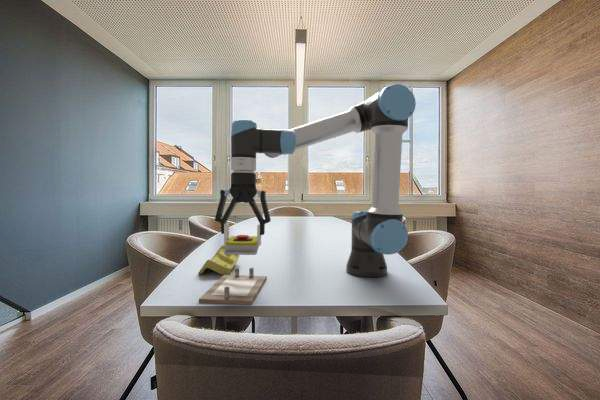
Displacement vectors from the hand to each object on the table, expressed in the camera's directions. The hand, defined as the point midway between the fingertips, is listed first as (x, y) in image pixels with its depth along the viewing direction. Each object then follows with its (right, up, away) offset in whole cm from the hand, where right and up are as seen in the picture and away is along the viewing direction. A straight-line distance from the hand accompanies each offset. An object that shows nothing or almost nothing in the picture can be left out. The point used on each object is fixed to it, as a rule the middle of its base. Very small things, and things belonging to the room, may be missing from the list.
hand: (242, 244), depth 98 cm
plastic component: (-12, -13, +25) cm, 31 cm away
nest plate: (-2, -14, +1) cm, 14 cm away
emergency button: (0, -2, 0) cm, 2 cm away
